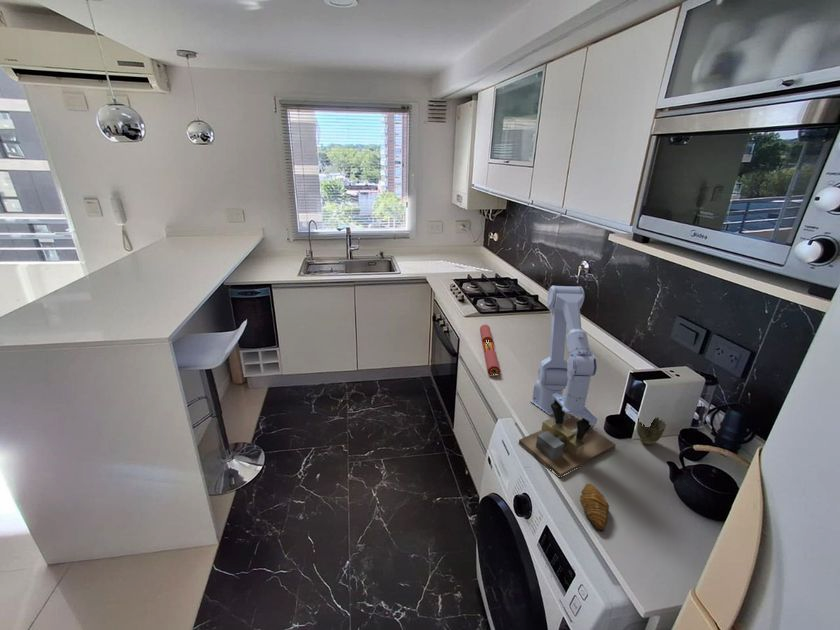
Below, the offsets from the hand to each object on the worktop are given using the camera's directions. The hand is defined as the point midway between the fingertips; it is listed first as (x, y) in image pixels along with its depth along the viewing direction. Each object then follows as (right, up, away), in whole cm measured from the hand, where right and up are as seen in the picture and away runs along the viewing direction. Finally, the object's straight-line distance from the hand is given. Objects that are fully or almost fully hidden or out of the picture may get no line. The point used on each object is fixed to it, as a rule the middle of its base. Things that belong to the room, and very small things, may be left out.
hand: (568, 431), depth 116 cm
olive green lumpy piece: (+26, -5, +4) cm, 26 cm away
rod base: (0, -5, +2) cm, 5 cm away
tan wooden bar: (-2, -4, 0) cm, 4 cm away
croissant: (-1, -14, -19) cm, 24 cm away
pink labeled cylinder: (-14, +18, +59) cm, 63 cm away
